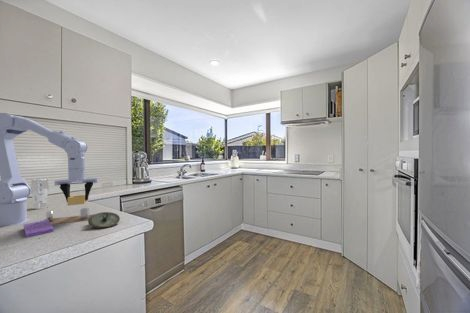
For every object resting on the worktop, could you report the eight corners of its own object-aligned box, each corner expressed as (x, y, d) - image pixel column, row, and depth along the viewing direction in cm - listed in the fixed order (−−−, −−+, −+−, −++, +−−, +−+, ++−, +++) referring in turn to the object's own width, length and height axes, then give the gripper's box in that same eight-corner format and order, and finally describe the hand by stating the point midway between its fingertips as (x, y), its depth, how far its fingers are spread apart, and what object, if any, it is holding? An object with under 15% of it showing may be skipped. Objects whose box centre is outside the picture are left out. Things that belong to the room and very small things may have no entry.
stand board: (32, 228, 80) (31, 215, 80) (45, 220, 89) (45, 209, 89) (91, 221, 86) (91, 210, 86) (97, 215, 96) (97, 205, 96)
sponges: (48, 223, 82) (48, 219, 82) (54, 232, 74) (53, 227, 74) (23, 229, 77) (23, 224, 77) (26, 239, 69) (25, 233, 69)
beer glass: (28, 208, 111) (28, 180, 111) (45, 205, 117) (44, 178, 117) (34, 210, 107) (33, 180, 107) (51, 207, 114) (50, 179, 114)
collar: (67, 205, 85) (67, 198, 85) (71, 202, 90) (71, 195, 90) (84, 203, 87) (84, 196, 87) (87, 201, 92) (86, 194, 92)
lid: (114, 219, 89) (114, 207, 89) (124, 224, 83) (124, 211, 83) (84, 226, 81) (84, 213, 81) (93, 231, 75) (92, 217, 75)
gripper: (51, 170, 82) (52, 205, 82) (95, 168, 88) (96, 200, 88) (57, 169, 88) (58, 201, 88) (98, 167, 95) (99, 197, 95)
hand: (77, 201), depth 89 cm, fingers closed on collar, 6 cm apart
